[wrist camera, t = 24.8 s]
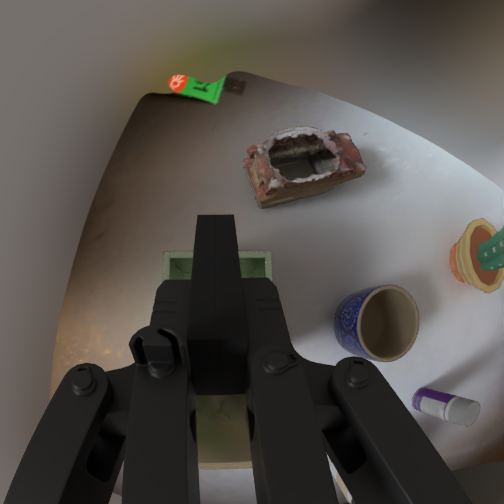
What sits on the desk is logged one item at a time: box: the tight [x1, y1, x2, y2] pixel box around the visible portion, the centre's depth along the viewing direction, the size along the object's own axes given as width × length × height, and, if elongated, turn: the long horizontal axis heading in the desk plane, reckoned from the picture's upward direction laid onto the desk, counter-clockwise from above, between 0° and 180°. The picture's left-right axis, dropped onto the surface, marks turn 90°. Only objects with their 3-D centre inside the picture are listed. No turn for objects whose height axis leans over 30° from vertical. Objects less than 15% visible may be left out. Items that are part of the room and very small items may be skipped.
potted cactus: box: [450, 218, 504, 293], centre depth 41 cm, size 15×15×25 cm
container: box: [412, 388, 480, 427], centre depth 39 cm, size 5×5×15 cm
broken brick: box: [243, 126, 367, 209], centre depth 47 cm, size 13×20×10 cm, turn 102°
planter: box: [334, 285, 419, 362], centre depth 42 cm, size 11×11×11 cm
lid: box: [195, 393, 253, 469], centre depth 24 cm, size 14×13×1 cm
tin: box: [163, 251, 272, 281], centre depth 39 cm, size 14×13×13 cm
